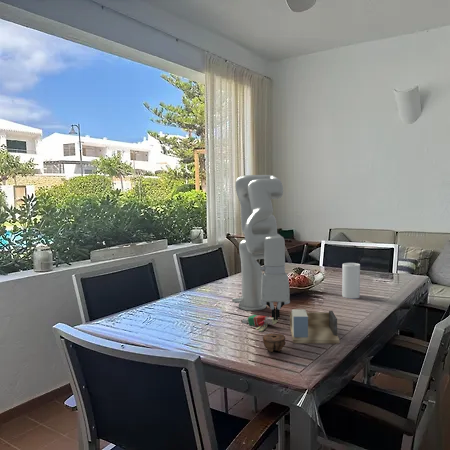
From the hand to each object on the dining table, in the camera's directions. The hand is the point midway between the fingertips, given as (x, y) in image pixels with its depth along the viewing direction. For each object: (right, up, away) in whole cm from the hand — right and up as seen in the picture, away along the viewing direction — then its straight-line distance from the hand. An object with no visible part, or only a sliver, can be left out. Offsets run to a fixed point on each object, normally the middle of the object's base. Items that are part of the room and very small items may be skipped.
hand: (275, 319), depth 156 cm
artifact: (-2, -8, -13) cm, 15 cm away
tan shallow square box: (+14, -6, +1) cm, 15 cm away
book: (+9, -5, 0) cm, 10 cm away
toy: (-5, -6, +15) cm, 17 cm away
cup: (+43, -1, +53) cm, 68 cm away
